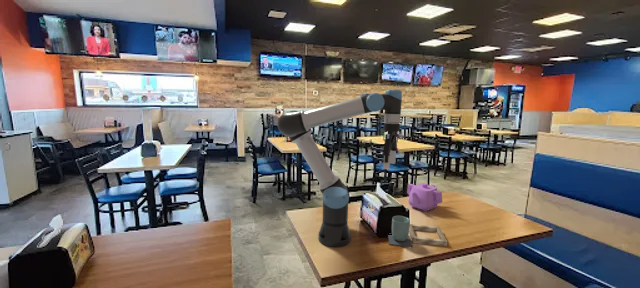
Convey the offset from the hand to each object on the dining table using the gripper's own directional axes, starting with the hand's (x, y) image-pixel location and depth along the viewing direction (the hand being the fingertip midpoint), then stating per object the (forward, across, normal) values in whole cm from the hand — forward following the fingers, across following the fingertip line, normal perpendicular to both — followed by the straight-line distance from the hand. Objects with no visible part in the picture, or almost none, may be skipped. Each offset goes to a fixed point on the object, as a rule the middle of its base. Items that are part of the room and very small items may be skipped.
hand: (389, 166), depth 136 cm
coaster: (+33, -9, -8) cm, 35 cm away
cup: (+32, -9, -8) cm, 34 cm away
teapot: (+33, +40, -14) cm, 54 cm away
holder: (+33, +1, -19) cm, 38 cm away
